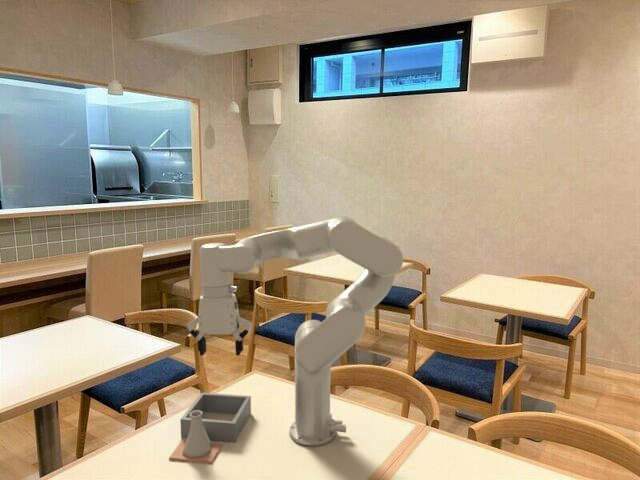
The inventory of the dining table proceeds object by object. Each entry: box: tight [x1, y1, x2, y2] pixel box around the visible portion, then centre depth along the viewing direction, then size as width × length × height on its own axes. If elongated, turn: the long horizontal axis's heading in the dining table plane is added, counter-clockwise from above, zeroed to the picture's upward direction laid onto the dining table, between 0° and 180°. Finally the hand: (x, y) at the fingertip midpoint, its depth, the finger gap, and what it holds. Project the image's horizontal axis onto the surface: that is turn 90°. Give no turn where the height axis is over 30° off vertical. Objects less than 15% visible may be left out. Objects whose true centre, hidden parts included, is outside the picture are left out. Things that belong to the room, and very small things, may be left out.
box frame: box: [179, 392, 252, 444], centre depth 131 cm, size 15×15×6 cm
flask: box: [182, 410, 212, 457], centre depth 118 cm, size 7×7×10 cm
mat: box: [168, 438, 224, 465], centre depth 119 cm, size 11×8×1 cm
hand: (221, 353), depth 123 cm, fingers open, 9 cm apart
